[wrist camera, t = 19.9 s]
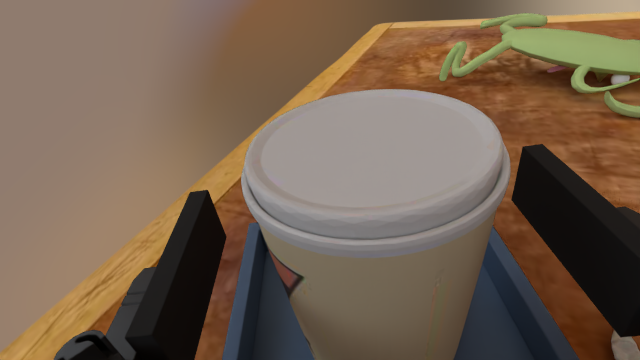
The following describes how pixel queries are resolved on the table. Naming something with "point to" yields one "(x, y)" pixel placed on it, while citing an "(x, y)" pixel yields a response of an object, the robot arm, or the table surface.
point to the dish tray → (477, 336)
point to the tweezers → (624, 348)
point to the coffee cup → (378, 218)
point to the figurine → (560, 55)
